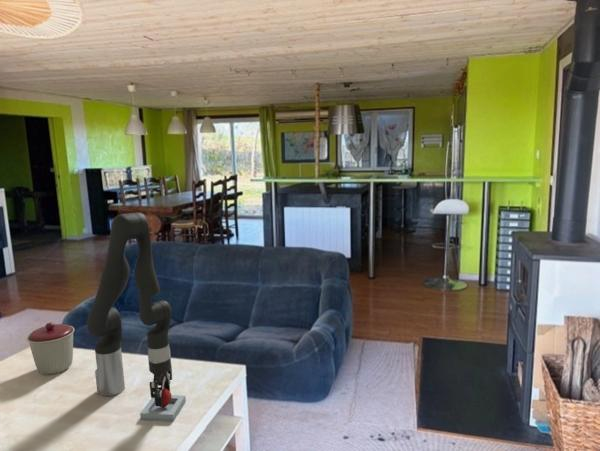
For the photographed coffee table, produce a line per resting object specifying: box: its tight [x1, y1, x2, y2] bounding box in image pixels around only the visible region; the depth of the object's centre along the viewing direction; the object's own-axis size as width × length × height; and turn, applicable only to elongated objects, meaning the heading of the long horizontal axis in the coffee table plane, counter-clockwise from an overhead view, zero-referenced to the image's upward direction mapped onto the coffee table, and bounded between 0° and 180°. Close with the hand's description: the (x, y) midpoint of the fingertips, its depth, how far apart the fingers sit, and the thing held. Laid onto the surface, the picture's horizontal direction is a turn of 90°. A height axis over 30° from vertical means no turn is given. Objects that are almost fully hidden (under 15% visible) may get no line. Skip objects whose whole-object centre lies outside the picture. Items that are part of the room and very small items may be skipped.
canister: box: [26, 321, 75, 375], centre depth 195 cm, size 18×18×21 cm
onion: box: [160, 388, 172, 408], centre depth 163 cm, size 6×6×8 cm
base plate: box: [139, 394, 187, 422], centre depth 164 cm, size 12×12×2 cm
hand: (163, 399), depth 163 cm, fingers open, 7 cm apart
